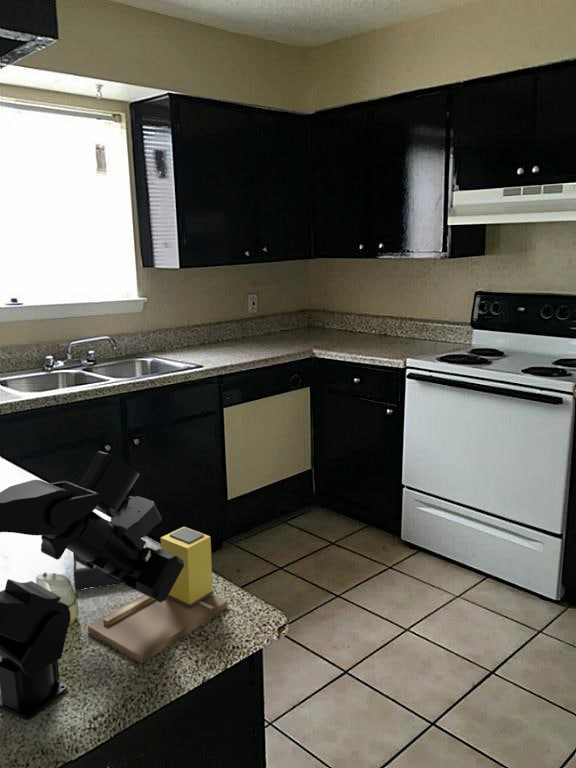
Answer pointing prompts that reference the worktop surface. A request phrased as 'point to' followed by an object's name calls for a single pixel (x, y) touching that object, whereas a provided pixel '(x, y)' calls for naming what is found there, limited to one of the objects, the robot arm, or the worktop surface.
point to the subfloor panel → (153, 624)
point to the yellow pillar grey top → (190, 565)
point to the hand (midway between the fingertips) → (159, 581)
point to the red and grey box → (90, 577)
